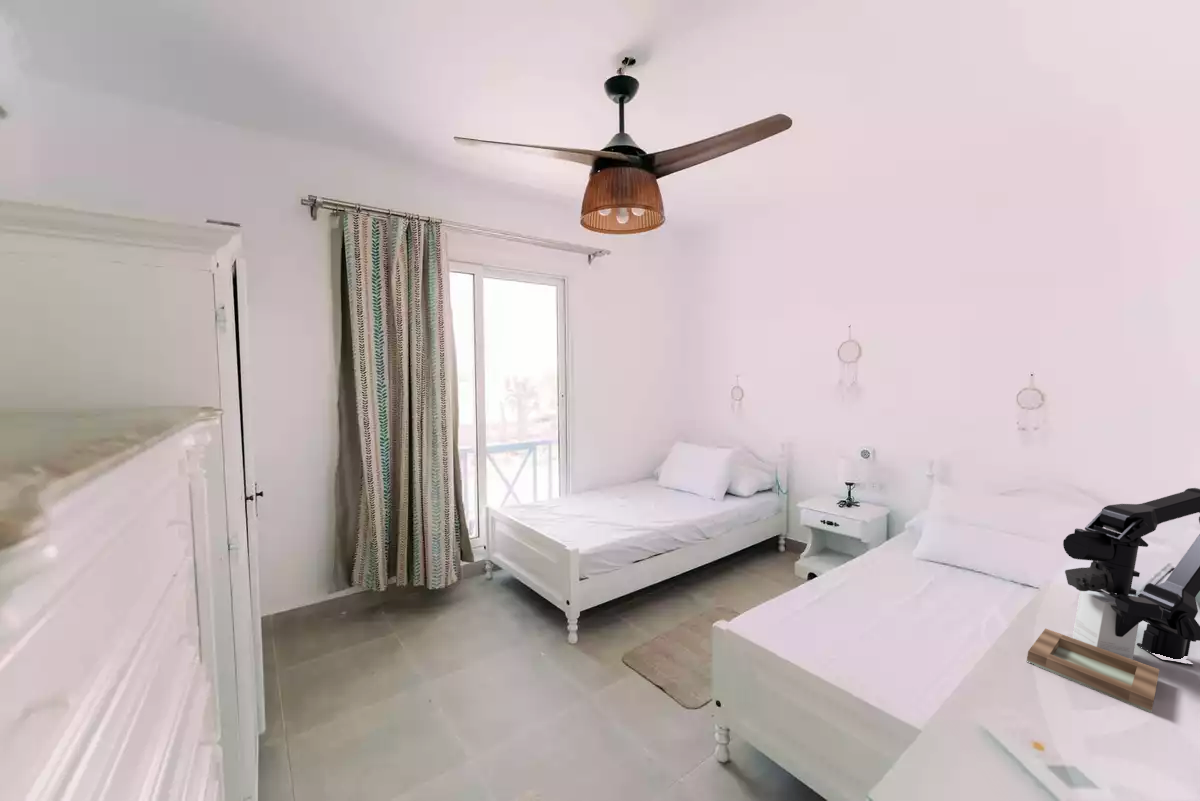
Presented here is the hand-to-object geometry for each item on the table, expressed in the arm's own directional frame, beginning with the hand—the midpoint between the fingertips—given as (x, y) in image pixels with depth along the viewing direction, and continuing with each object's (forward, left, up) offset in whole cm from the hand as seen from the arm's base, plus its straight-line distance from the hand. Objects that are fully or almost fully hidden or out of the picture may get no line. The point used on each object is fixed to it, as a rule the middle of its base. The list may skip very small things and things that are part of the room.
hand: (1104, 627), depth 113 cm
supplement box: (0, 0, -6) cm, 6 cm away
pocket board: (+10, +11, -6) cm, 16 cm away
